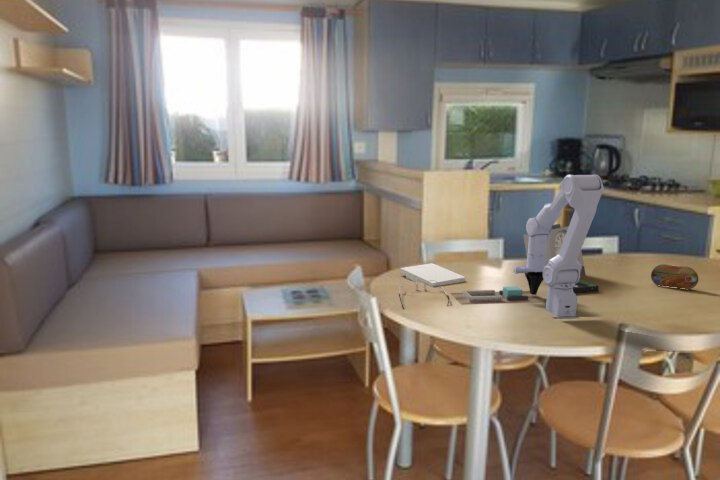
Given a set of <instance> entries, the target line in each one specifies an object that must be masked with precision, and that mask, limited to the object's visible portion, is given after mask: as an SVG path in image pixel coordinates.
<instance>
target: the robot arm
mask: <svg viewBox="0 0 720 480" xmlns="http://www.w3.org/2000/svg"><path fill="white" fill-rule="evenodd" d="M604 190H605V188H604V185H603V181H602V178H601V176H599V174H575V175H574V174H567V175H566V176H564V178H563V179H562V180H561V182H560V189H559V191H558V193H557V194H556V196H555V198H554V199H553V201H552V202H551V203H545V204H544V205H543V207H542V209H541V210H540V211H539V212H538V214H537V215H536V216H535V217H534V216H533V217H530V218H528V220H527V222H526V225H525V228H526V229H525V230H526V232H527V234H528V235H529V243H528V255H527V256H526V265H521V266H513V268H512V269H513V270H512V273H514V275H519V274H524V277H525V278H526V280H527V284H528V289H529V291H530V293H531V294H532V295H538V291H539V288H540V285H541V284H542V282H543V281H544V283H545V285H547V291H546V300H545V301H546V302H545V310H546V311H547V312H549V313H551V314H553V315H554V316H556V317H554V316H553V317H552V319H554V320H562V319H563V320H564V319H567V320H568V319H579V316H577V315H576V314H577V308H578V307H577V305H578V295H577V294H575V293H574V292H573V287H575V284H576V283H577V282H578V281H579V279H581V277H580V271H581V268H582V266H581V264H580V262H579V261H578V260H577V258H578V255H579V253H580V250H581V251H582V248H583V245H584V242H585V240H586V238H587V235H588V232H589V231H590V227H591V225H592V222H593V220H594V217H595V215H596V212H597V207H598V204H599V202H600V199H601V197H602V195H603V192H604ZM567 205H569V206H570V207H571V208H573V209H574V212H573V214H572V217H571V219H570V222H569V225H568V226H569V227H568V226H567V227H568V230H567V233H566V235H565V238H564V241H563V243H562V246H561V249H560V251H559V254H558V255H557V256H555V257H553V258H552V259H550V260H549V262H548V264H547V265H546V266H545V257H546V246H547V241H548V240H549V236H550V234H551V232H552V225H555V223H556V222H557V221H558V220H559V219H560V217H562V210H563V209H564V208H565V207H566V206H567Z"/></svg>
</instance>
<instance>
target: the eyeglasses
mask: <svg viewBox="0 0 720 480" xmlns="http://www.w3.org/2000/svg"><path fill="white" fill-rule="evenodd" d="M406 281H412V282H414V281H413V280H411V279H407V280H405V282H406ZM430 281H435V280H430ZM405 282H403V283H402V284H400V285H399V288H402V290H403V291H405V289H404V284H405ZM428 282H429V281H428ZM428 282H427V283H428ZM436 282H437V281H436ZM420 283H422V284H423V290H424V291H427V289H426V288H427V287H426V286H427V283H426V284H425V283H423V282H414V284H415V287H416V288H415V289H414V290H415V291H417V290H418V289H419V284H420ZM437 283H438V282H437ZM440 289H442V291H443V292H444V293H445V295H446V297H447V298H448V299H447V300H448V301H447V306H446V307H449V304H450V296H449V294H447V291H445V289H444V287H443V286H438V291H437V292H439V290H440ZM398 292H399V294H398V297H399V301H400V303H401V307H402V309H403V310H405V306H404V305H403V302H402V299H401V298H402V297H401V291H398ZM405 293H408V292H406V291H405ZM412 293H413V292H411V294H412Z"/></svg>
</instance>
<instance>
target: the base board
mask: <svg viewBox="0 0 720 480" xmlns="http://www.w3.org/2000/svg"><path fill="white" fill-rule="evenodd" d="M450 295H451V296H452V297H453V298H454V299H455V300H456V301H457V302H458V303H459V304H461V305H462V306H463V305H488V304H490V305H492V304H495V305H496V304H524V303H525V304H528V303H529V304H531V303H546V301H547V300H545V299H543V298H542V297H541V296H539V295H538V294H536V295H532V294H531V293H530V290H522V296H528V300H512V301H508V300H507V298H505V297H504V296H503V295H501V296H502V301H477V302H469V301H468V300H467V299H466V298H465V297H464V296H463V295H462V292H450ZM499 295H500V294H499V291H495V295H475V296H499ZM461 305H460V306H461Z"/></svg>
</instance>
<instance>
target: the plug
mask: <svg viewBox="0 0 720 480" xmlns="http://www.w3.org/2000/svg"><path fill="white" fill-rule="evenodd" d="M502 290H503V296H504V297H505V298H507V296H522V291H523V289H522V288H520V287H519V286H515V285H513V286H502Z"/></svg>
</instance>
